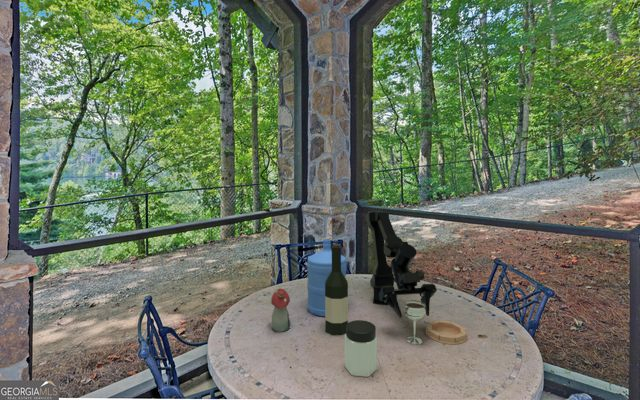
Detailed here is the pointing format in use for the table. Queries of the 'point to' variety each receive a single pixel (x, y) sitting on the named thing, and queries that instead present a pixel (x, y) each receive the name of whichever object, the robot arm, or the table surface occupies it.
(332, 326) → the wine bottle
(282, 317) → the decorative ornament
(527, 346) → the table surface
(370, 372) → the jar
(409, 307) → the wineglass
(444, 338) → the coaster
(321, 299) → the water jug
